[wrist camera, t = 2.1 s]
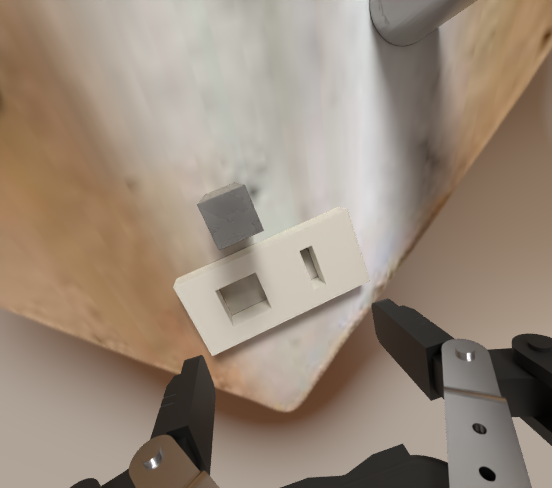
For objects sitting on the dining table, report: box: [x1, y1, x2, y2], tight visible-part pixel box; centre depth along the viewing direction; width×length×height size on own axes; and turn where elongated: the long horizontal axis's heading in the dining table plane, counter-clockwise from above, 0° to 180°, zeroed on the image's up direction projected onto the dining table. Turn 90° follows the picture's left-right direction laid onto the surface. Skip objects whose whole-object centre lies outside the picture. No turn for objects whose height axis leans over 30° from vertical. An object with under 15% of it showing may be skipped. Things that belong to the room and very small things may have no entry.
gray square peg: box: [197, 182, 264, 250], centre depth 28 cm, size 4×4×14 cm
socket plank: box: [174, 207, 370, 356], centre depth 37 cm, size 24×11×3 cm, turn 112°
